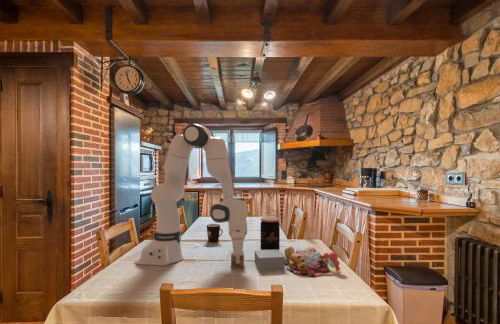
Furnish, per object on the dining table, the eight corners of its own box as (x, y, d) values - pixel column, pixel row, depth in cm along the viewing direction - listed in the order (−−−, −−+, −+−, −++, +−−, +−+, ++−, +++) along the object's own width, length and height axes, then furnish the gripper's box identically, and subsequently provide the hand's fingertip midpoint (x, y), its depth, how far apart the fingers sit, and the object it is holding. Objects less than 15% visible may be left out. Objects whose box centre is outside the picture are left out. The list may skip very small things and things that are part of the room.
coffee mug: (204, 240, 179) (204, 224, 180) (217, 238, 183) (217, 223, 183) (210, 244, 169) (210, 228, 169) (223, 243, 172) (223, 226, 173)
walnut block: (231, 268, 130) (231, 255, 130) (231, 263, 136) (231, 251, 136) (243, 268, 131) (243, 255, 131) (243, 263, 137) (243, 251, 137)
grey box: (258, 271, 127) (258, 258, 127) (254, 262, 139) (254, 250, 139) (284, 270, 129) (284, 256, 129) (278, 261, 141) (278, 249, 141)
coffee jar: (258, 253, 153) (258, 219, 154) (262, 247, 164) (262, 216, 164) (278, 254, 151) (278, 220, 151) (280, 248, 161) (280, 217, 161)
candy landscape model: (297, 280, 118) (297, 258, 118) (276, 261, 140) (276, 243, 140) (349, 274, 124) (349, 253, 125) (321, 257, 147) (321, 239, 147)
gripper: (231, 225, 144) (231, 253, 144) (230, 235, 124) (230, 267, 123) (244, 225, 144) (244, 252, 144) (244, 235, 124) (244, 267, 124)
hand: (237, 259), depth 134 cm, fingers open, 8 cm apart
